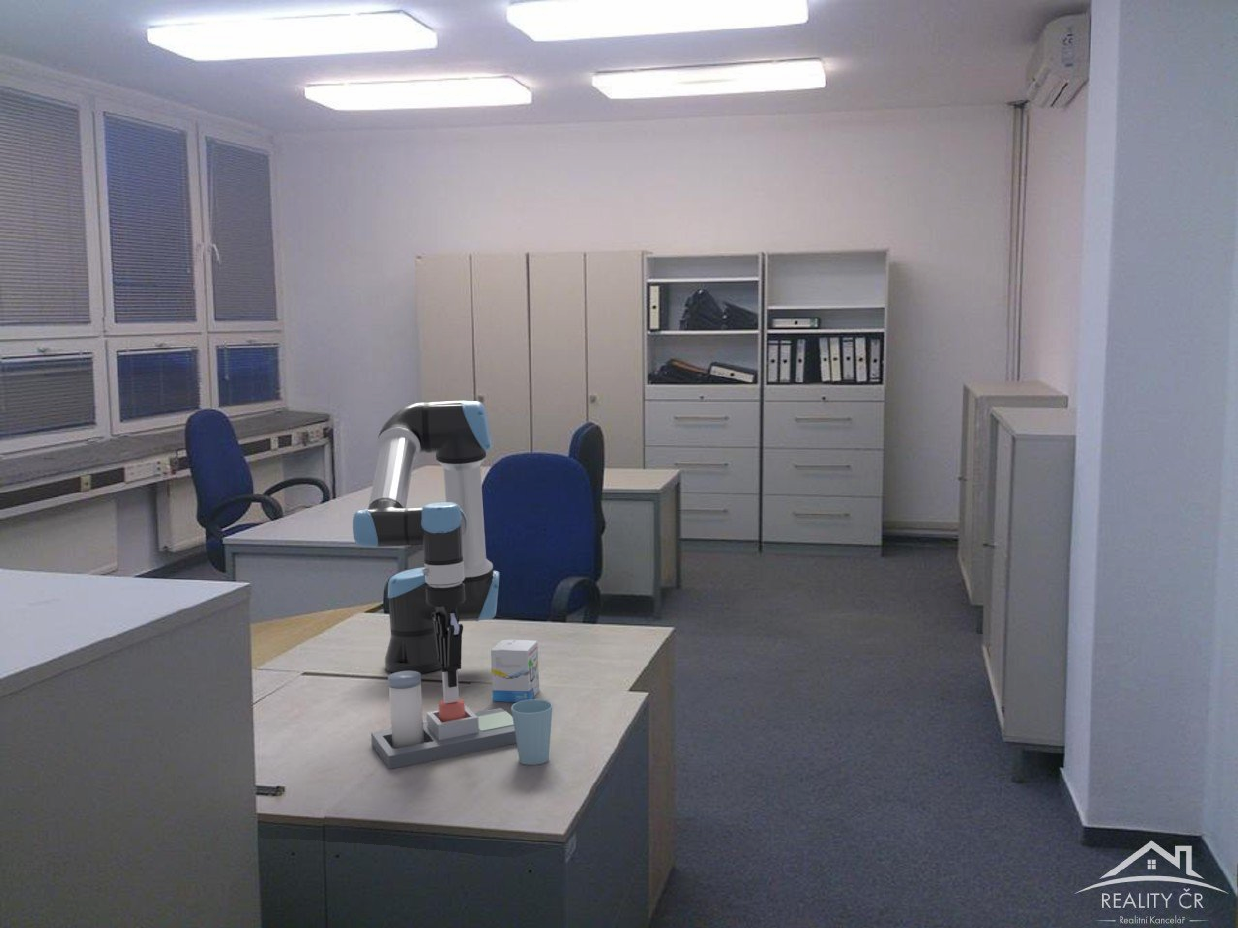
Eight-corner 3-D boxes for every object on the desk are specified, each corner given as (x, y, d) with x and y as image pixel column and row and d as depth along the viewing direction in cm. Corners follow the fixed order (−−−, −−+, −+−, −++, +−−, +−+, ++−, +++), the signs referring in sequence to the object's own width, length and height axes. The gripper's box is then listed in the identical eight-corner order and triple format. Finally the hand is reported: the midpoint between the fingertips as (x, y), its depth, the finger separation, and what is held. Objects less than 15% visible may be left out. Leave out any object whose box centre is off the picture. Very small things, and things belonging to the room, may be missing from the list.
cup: (505, 759, 207) (503, 705, 206) (538, 748, 212) (536, 696, 210) (529, 770, 201) (526, 715, 200) (562, 759, 206) (560, 705, 205)
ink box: (529, 703, 238) (527, 650, 236) (492, 701, 240) (489, 649, 238) (540, 690, 246) (538, 639, 245) (504, 688, 248) (501, 638, 246)
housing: (371, 744, 217) (370, 717, 216) (501, 719, 228) (500, 693, 228) (389, 768, 204) (387, 740, 203) (525, 740, 216) (524, 713, 215)
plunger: (436, 725, 217) (435, 700, 217) (461, 720, 220) (459, 696, 219) (444, 733, 213) (442, 708, 212) (469, 728, 215) (467, 703, 214)
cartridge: (388, 748, 214) (384, 674, 212) (420, 742, 217) (415, 668, 215) (397, 759, 209) (392, 682, 207) (428, 752, 211) (424, 677, 209)
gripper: (416, 579, 217) (423, 695, 220) (435, 592, 205) (442, 714, 208) (453, 574, 220) (459, 688, 223) (474, 587, 208) (480, 707, 211)
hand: (451, 701), depth 216 cm, fingers closed
